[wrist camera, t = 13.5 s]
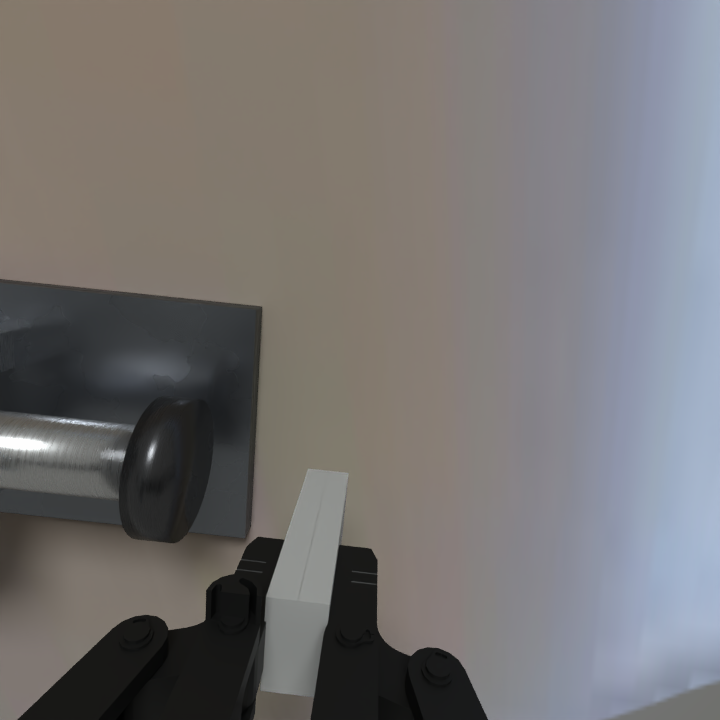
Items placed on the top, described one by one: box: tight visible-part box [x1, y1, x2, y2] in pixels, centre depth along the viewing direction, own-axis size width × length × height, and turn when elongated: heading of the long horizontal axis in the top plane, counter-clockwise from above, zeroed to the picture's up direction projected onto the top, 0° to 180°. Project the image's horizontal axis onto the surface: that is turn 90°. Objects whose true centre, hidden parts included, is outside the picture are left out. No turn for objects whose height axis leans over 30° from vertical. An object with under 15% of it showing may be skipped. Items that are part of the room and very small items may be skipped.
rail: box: [0, 279, 262, 538], centre depth 20 cm, size 18×12×9 cm, turn 84°
